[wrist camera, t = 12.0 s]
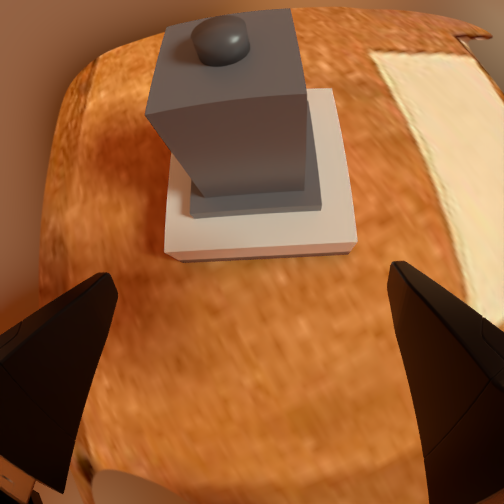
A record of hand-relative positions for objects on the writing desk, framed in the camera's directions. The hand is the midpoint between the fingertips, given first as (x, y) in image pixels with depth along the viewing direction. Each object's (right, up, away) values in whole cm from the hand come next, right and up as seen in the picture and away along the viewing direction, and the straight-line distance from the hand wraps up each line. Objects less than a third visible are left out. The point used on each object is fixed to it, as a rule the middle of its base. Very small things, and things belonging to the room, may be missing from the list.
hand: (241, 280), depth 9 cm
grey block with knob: (+1, +6, +9) cm, 11 cm away
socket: (+1, +5, +10) cm, 12 cm away
